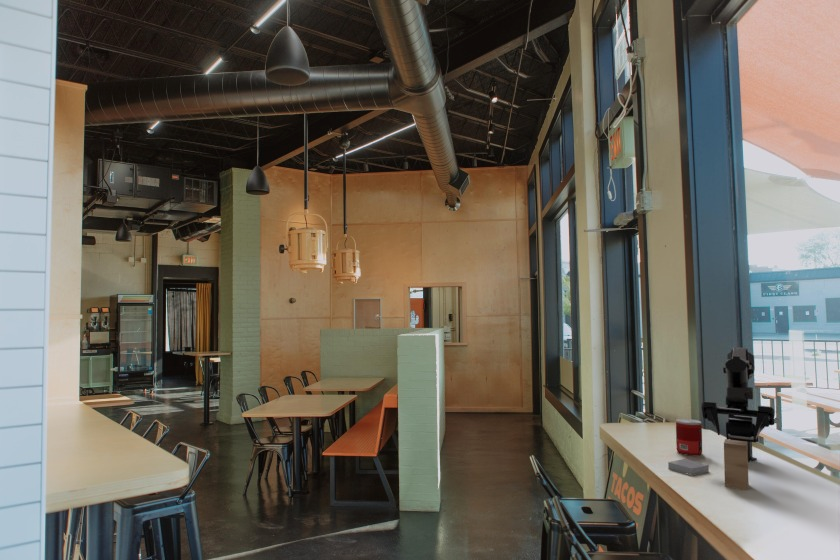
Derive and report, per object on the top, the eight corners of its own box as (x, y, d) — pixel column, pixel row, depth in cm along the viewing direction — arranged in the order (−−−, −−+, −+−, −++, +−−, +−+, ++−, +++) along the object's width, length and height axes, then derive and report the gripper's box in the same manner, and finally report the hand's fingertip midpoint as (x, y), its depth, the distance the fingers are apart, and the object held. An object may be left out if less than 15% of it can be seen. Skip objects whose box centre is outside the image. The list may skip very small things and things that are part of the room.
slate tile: (684, 466, 172) (684, 458, 172) (708, 473, 165) (708, 464, 166) (668, 470, 168) (668, 462, 169) (692, 477, 161) (692, 468, 162)
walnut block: (726, 481, 156) (725, 439, 157) (748, 484, 153) (747, 441, 154) (724, 486, 151) (723, 442, 152) (747, 490, 148) (746, 445, 149)
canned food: (705, 456, 183) (704, 423, 184) (679, 455, 185) (679, 422, 185) (698, 450, 191) (697, 419, 191) (674, 449, 192) (673, 418, 193)
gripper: (701, 374, 169) (698, 416, 159) (772, 379, 159) (774, 423, 149) (704, 397, 175) (701, 438, 165) (773, 402, 165) (775, 447, 155)
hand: (736, 436), depth 159 cm, fingers open, 9 cm apart
